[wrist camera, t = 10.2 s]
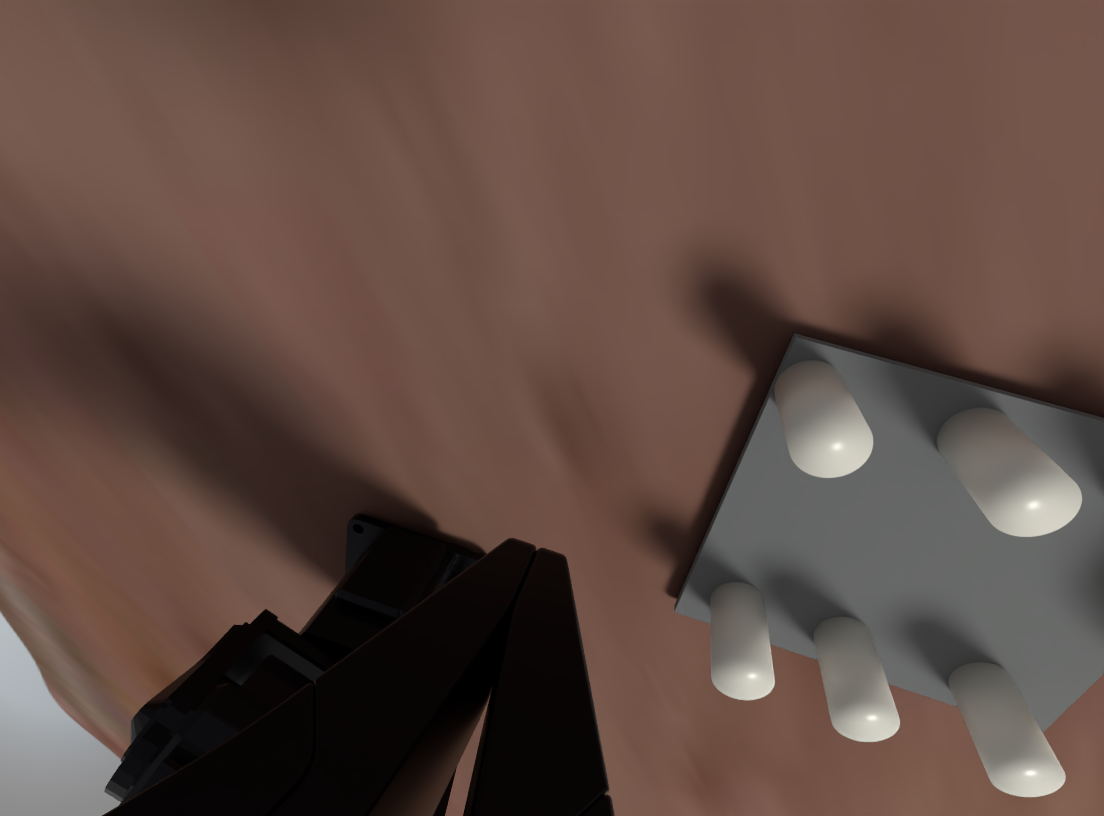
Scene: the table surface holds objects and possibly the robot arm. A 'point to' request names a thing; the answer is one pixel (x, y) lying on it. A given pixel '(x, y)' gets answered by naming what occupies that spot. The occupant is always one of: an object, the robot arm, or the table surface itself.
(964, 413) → the spacers
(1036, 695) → the mat
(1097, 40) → the table surface
